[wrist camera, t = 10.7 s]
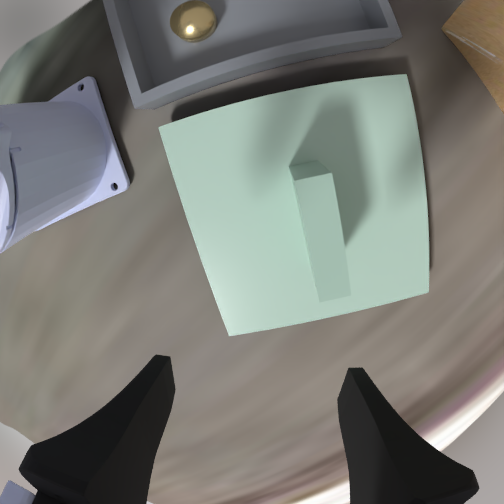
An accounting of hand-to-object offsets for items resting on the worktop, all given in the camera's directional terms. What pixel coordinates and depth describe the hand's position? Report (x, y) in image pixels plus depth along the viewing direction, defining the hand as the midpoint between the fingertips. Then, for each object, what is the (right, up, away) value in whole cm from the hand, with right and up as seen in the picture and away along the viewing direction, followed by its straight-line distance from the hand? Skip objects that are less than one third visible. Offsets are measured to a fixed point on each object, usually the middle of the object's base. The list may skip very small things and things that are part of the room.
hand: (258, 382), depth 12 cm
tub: (-1, +22, +1) cm, 22 cm away
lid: (+3, +8, +6) cm, 10 cm away
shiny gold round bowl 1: (-3, +18, +2) cm, 18 cm away
